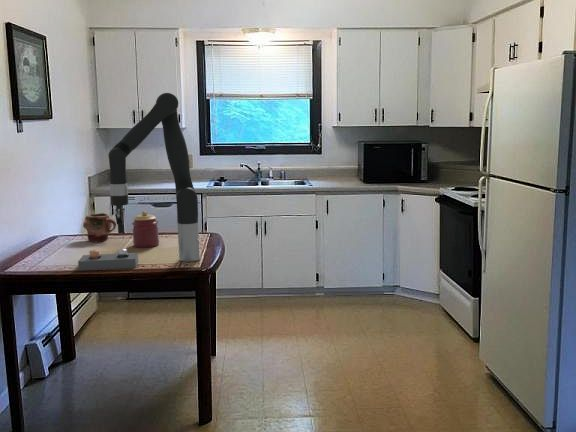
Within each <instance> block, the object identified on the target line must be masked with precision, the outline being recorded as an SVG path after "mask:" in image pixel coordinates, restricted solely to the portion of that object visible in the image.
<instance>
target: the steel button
mask: <svg viewBox="0 0 576 432" xmlns="http://www.w3.org/2000/svg"><path fill="white" fill-rule="evenodd" d="M127 253H128V248H119V249H117V254H118V257H127Z"/></svg>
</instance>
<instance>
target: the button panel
mask: <svg viewBox="0 0 576 432" xmlns="http://www.w3.org/2000/svg"><path fill="white" fill-rule="evenodd" d="M138 263H139V252H127V257H118V253H105V254H104V253H103V254H100V253H99V258H96V259H91V258H90V254H83V255H82V256H81V257H80V258H79V260H78V261H77V265H78V271H97V270H98V271H99V270H117V269H133V268H134V269H135V268H137V266H138Z"/></svg>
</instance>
